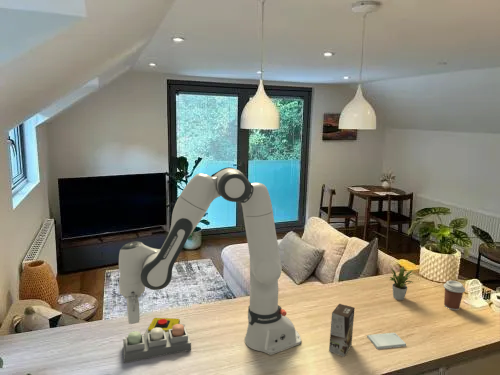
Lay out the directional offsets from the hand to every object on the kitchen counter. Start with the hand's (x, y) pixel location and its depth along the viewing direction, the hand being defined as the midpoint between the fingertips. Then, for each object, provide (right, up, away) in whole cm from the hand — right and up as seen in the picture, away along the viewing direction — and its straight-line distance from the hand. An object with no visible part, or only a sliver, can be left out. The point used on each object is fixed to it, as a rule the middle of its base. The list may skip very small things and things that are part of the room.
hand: (132, 321), depth 135 cm
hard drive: (+98, -13, +13) cm, 99 cm away
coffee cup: (+140, -8, +42) cm, 146 cm away
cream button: (+8, -8, +4) cm, 12 cm away
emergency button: (+8, -10, +17) cm, 22 cm away
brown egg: (+15, -7, +7) cm, 18 cm away
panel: (+8, -12, +5) cm, 15 cm away
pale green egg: (0, -8, +2) cm, 8 cm away
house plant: (+118, -7, +49) cm, 128 cm away
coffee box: (+78, -13, +8) cm, 80 cm away
